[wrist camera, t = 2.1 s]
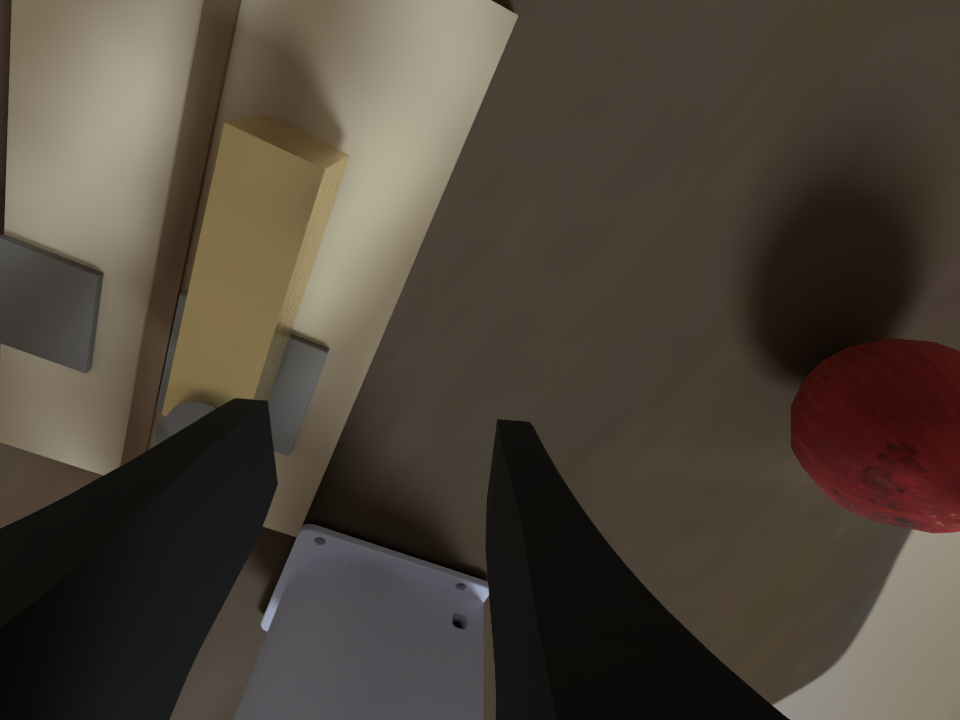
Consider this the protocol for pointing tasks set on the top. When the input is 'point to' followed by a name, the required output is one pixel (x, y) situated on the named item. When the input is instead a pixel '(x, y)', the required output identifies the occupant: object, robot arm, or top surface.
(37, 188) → the door board
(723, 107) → the top surface
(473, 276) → the top surface
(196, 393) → the swing bar
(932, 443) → the onion
